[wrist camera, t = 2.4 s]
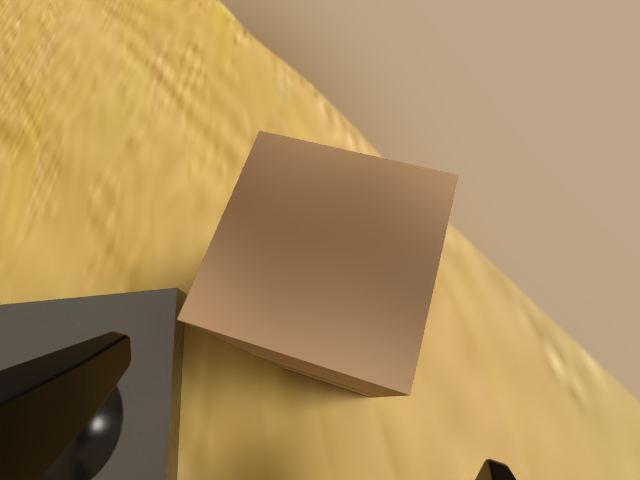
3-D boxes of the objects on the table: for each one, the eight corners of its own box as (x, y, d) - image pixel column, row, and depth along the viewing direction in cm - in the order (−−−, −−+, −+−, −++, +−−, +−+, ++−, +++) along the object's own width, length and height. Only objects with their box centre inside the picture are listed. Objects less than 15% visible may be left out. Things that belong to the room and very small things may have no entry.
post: (371, 397, 19) (409, 394, 7) (282, 368, 20) (176, 319, 8) (394, 307, 20) (458, 175, 8) (310, 283, 21) (259, 130, 9)
